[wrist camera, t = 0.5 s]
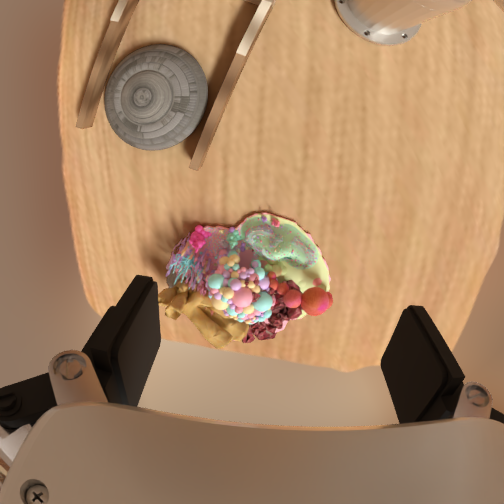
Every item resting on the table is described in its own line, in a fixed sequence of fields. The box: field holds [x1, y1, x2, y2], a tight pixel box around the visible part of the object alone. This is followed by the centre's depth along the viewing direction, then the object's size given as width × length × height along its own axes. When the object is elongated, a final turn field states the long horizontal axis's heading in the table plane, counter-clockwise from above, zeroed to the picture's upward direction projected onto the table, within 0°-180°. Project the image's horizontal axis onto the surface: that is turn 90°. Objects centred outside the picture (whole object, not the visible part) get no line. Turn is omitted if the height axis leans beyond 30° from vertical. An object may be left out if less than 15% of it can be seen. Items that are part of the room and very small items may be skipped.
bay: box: [76, 0, 275, 171], centre depth 34 cm, size 25×19×4 cm
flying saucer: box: [105, 44, 208, 150], centre depth 36 cm, size 15×15×6 cm
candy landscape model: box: [158, 212, 333, 349], centre depth 47 cm, size 25×24×9 cm
